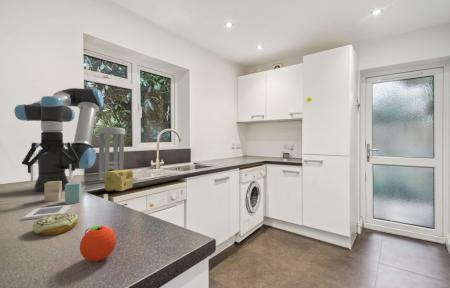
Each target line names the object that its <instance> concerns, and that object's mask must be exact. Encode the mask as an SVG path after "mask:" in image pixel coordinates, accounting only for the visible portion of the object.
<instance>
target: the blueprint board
mask: <svg viewBox="0 0 450 288" xmlns="http://www.w3.org/2000/svg"><path fill="white" fill-rule="evenodd" d="M71 205H72V204H63V205H55V206H47V207H37V208H34V209H33V210H31V211H30V212H29V213H27V214H26V215H24V216H23V217H22V221H27V220H36V219H37V220H38V219H41V218H43V217H46V216H50V215H55V214H60V213H68V211H69V210H70V208H71Z"/></svg>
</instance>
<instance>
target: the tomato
mask: <svg viewBox="0 0 450 288" xmlns="http://www.w3.org/2000/svg"><path fill="white" fill-rule="evenodd" d="M116 245H117V235H116V234H115V231H114V230H112V229H111V228H110V227H108V226H105V225H101V226H98V225H95V226H91V227H88V228H87V229H85V231H84V235H83V236H82V237H81V241H80V242H79V251H80V254H81V256H82V257H83V258H84V259H85V260H87V261H90V262H98V261H102V260H105V259H106V258H108V257H109V256H110V255H111V254H112V253H113V251H114V250H115V247H116Z"/></svg>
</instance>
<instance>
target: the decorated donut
mask: <svg viewBox="0 0 450 288" xmlns="http://www.w3.org/2000/svg"><path fill="white" fill-rule="evenodd" d="M78 221H79V217H78V215H77V214H76V213H71V212H66V213H60V214H55V215H50V216H46V217H43V218H38V219H37V220H35V221H34V222H33V224H32V229H33V231H34V233H36V234H38V235H40V236H43V237H45V236H55V235H60V233H61V234H63V233H66V232H69V231H70V230H73V229H74V227H75V226H76V225H77V224H78Z"/></svg>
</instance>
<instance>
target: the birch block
mask: <svg viewBox="0 0 450 288" xmlns="http://www.w3.org/2000/svg"><path fill="white" fill-rule="evenodd" d="M62 191H63V189H62V181H52V182H47V183H45V184H44V191H43V192H44V203H49V202H50V203H51V202H59V201H60V200H62V199H63V192H62Z"/></svg>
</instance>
